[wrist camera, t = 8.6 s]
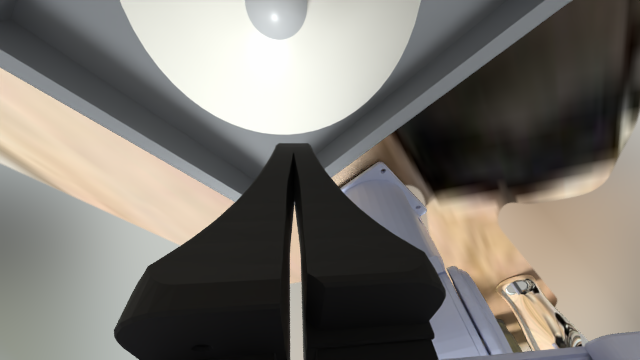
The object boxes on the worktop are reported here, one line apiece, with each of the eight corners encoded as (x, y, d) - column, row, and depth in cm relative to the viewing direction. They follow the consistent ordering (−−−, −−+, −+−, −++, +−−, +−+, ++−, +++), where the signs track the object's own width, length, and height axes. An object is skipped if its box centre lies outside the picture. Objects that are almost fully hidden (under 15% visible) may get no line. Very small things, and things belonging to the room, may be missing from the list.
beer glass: (511, 295, 45) (585, 404, 34) (483, 291, 43) (553, 406, 32) (545, 275, 41) (642, 392, 30) (517, 270, 39) (610, 393, 28)
